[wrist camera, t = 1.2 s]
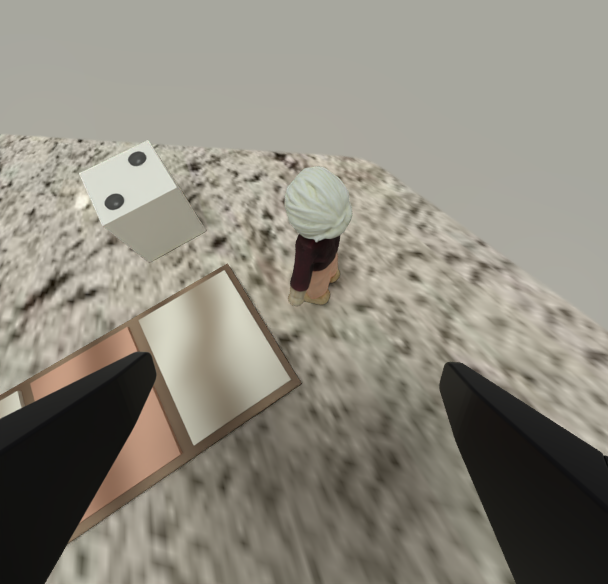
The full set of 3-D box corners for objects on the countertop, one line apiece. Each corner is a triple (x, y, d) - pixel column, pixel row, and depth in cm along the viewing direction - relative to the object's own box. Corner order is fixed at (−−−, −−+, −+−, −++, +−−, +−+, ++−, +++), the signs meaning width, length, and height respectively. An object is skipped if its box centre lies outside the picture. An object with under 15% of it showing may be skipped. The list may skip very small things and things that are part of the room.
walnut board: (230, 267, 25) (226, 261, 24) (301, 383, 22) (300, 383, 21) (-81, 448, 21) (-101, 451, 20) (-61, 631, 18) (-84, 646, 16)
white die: (181, 189, 29) (147, 138, 23) (206, 231, 27) (176, 186, 21) (127, 218, 28) (77, 171, 22) (149, 262, 26) (101, 224, 20)
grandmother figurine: (308, 244, 26) (299, 115, 14) (348, 253, 25) (374, 128, 14) (282, 321, 23) (244, 245, 12) (326, 334, 23) (334, 267, 11)
